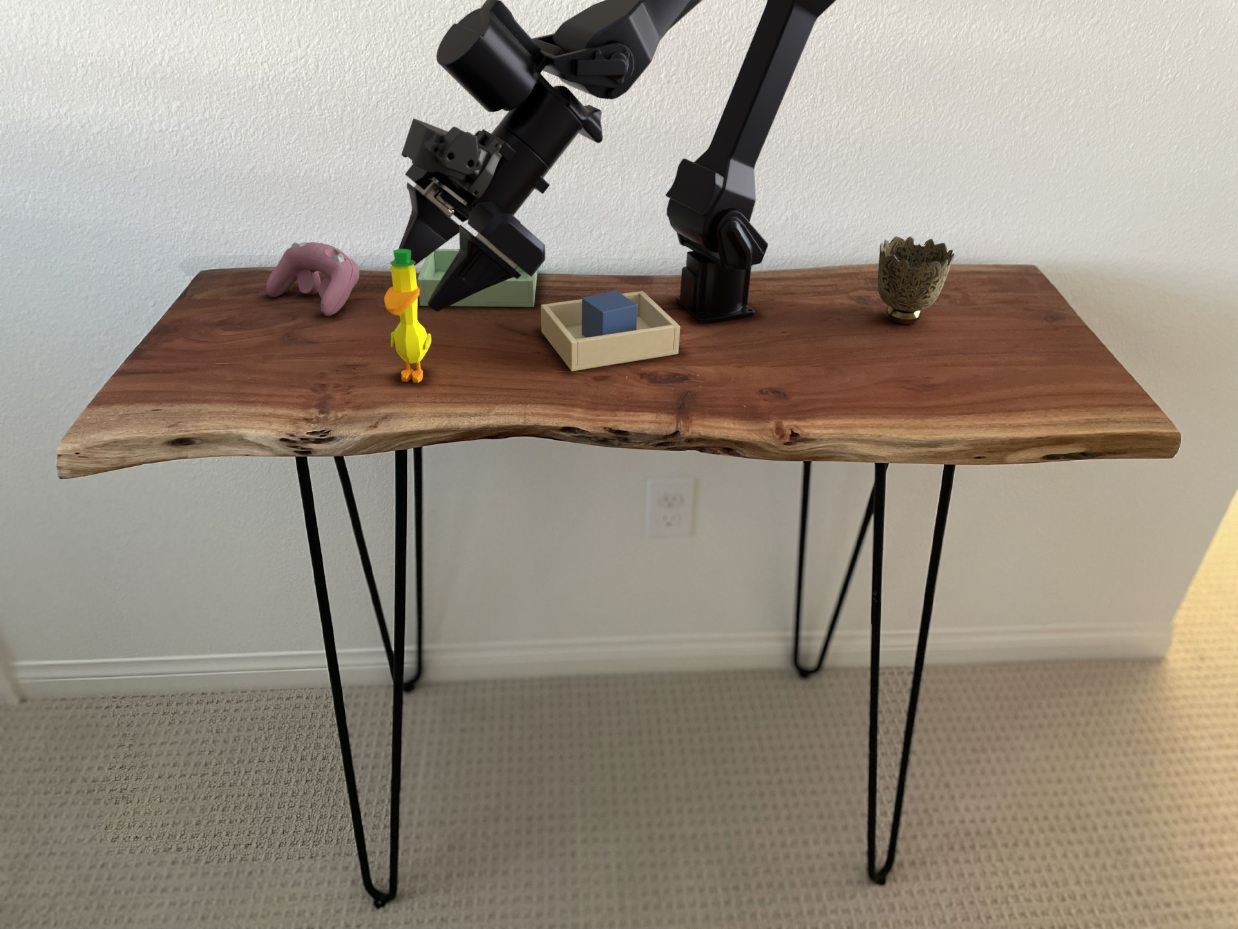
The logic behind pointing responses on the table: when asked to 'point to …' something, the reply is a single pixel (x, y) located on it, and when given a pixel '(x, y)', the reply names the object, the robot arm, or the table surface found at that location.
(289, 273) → the video game controller
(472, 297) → the green tray
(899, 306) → the cup
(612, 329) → the slate block
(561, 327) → the beige tray
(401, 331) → the toy figure
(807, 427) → the table surface
